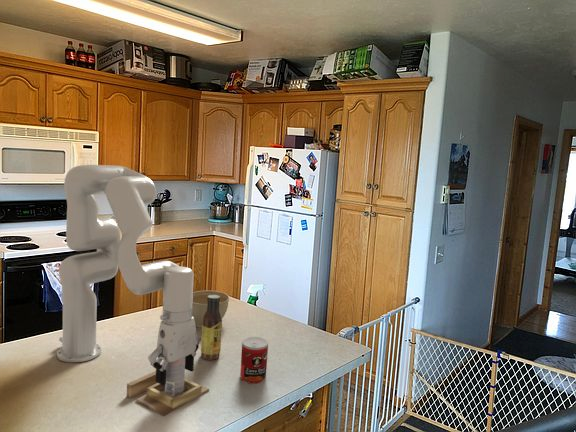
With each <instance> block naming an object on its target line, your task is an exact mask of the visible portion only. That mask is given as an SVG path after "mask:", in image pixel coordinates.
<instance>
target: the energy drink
mask: <svg viewBox="0 0 576 432" xmlns="http://www.w3.org/2000/svg"><path fill="white" fill-rule="evenodd" d="M165 370H166V384H165V385H164V390H163V393H164V394H166V395H168V396H170V397H172V398H175V397H177V396H179V395H181V394H183V393H184V379H185V378H186V377H185V375H186V374H185V373H186V369H185V357H183V358H181V359H179V360H177V361H174V362H171V363H169V362H168V364H167V365H166V367H165Z"/></svg>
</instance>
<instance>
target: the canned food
mask: <svg viewBox="0 0 576 432" xmlns="http://www.w3.org/2000/svg"><path fill="white" fill-rule="evenodd" d="M241 342H242V343H241V354H240V355H241V356H240V357H241V358H240V378H241V380H242V381H243V382H244V383H248V384H253V385H254V384H260V383H262V382H264V381H265V379H266V377H267V370H268V369H267V367H268V366H267V364H268V354H269V353H268V351H269V342H268V340H267V339H266V338H262V337H259V336H250V337H246V338H244V339H242V341H241Z"/></svg>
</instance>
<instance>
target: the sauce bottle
mask: <svg viewBox="0 0 576 432" xmlns="http://www.w3.org/2000/svg"><path fill="white" fill-rule="evenodd" d="M207 301H208V304H207V311H206V313H205V314H204V316H203V324H202V328H201V341H200V356H201V358H202V359H204V360H210V361H211V360H216V359H218V358H219V357H220V355H221V349H222V347H221V345H222V333H223V332H222V329H223V318H221V315H220V311H219V301H220V296H218V295H209V296H207Z"/></svg>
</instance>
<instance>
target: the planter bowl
mask: <svg viewBox="0 0 576 432" xmlns="http://www.w3.org/2000/svg"><path fill="white" fill-rule="evenodd" d="M209 295H218V296H220V301H219V311H220V315H221V318H222V319H223V318H224V317H225V315H226V314H227V311H228V307H229V301H230V296H229V295H228V294H227V293H225V292H221V291H218V290H198V291H193V303H192V316H193V317H194V320H195V327H197V328H199V329H202V324H203V316H204V314H205V313H206V311H207V304H208V301H207V296H209Z"/></svg>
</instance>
